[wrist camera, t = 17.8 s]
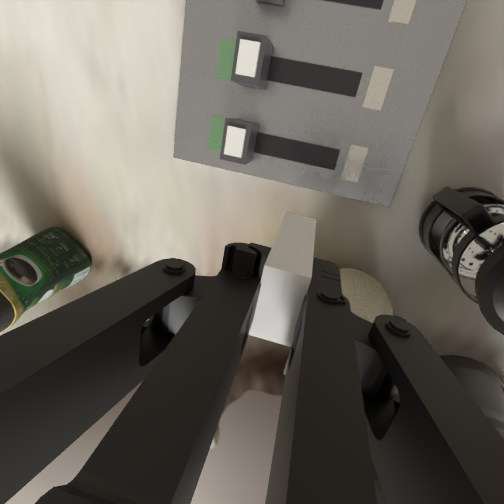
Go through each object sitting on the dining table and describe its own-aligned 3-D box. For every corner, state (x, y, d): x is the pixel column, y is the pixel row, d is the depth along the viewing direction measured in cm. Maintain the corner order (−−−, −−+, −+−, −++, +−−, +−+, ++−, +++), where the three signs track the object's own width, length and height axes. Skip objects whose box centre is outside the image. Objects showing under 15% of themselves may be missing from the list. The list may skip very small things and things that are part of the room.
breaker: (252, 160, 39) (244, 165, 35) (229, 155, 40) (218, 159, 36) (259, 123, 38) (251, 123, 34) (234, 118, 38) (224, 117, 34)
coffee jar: (34, 246, 54) (-97, 301, 37) (57, 218, 51) (-74, 265, 34) (76, 287, 56) (-32, 359, 39) (101, 263, 52) (-5, 329, 36)
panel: (387, 204, 40) (389, 207, 38) (178, 156, 43) (173, 157, 42) (477, -39, 30) (485, -48, 29) (198, -77, 33) (192, -86, 32)
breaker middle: (265, 89, 36) (257, 85, 32) (239, 84, 36) (229, 80, 32) (273, 45, 34) (266, 34, 30) (246, 40, 35) (236, 29, 31)
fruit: (371, 332, 47) (390, 417, 33) (297, 305, 48) (286, 378, 34) (404, 272, 42) (441, 342, 29) (321, 244, 43) (320, 299, 30)
